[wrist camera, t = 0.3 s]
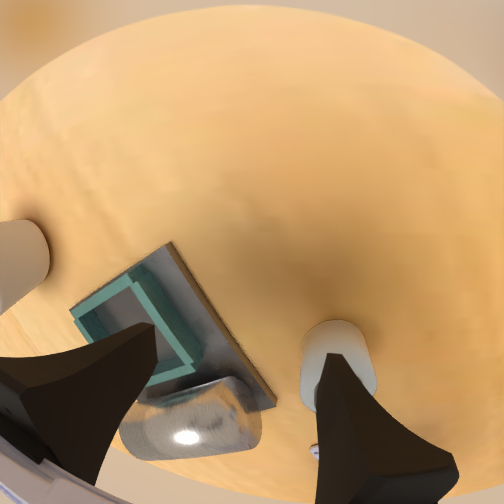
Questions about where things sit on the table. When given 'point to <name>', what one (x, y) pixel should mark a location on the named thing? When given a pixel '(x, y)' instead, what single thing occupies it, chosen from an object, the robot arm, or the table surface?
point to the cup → (21, 260)
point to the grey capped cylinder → (333, 341)
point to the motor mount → (179, 364)
